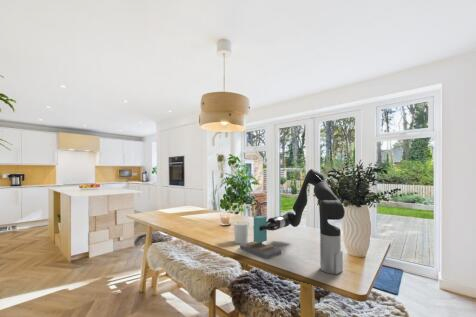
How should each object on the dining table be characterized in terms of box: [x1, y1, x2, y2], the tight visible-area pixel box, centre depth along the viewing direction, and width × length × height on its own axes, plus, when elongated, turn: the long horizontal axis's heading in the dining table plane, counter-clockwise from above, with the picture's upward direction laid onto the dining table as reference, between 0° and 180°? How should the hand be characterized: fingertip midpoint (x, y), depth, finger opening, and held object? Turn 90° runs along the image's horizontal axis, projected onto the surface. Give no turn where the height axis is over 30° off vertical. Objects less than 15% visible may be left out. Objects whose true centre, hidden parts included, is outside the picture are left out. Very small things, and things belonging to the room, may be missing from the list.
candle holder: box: [233, 221, 250, 245], centre depth 161 cm, size 10×10×12 cm
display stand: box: [239, 240, 282, 260], centre depth 143 cm, size 22×12×4 cm, turn 41°
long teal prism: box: [253, 215, 268, 243], centre depth 144 cm, size 4×6×14 cm
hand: (256, 227), depth 142 cm, fingers closed on long teal prism, 4 cm apart
